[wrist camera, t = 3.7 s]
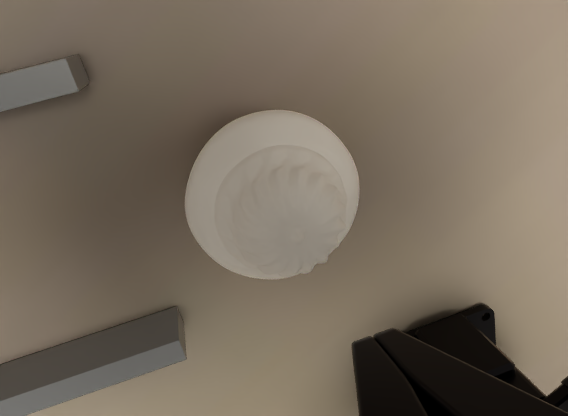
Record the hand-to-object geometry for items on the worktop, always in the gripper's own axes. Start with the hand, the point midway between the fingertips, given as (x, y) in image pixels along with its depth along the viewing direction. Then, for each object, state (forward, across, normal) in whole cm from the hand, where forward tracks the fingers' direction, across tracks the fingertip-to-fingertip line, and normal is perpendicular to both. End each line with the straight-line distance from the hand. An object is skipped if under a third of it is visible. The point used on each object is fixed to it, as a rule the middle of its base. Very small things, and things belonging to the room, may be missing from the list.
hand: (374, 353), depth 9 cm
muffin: (+12, 0, 0) cm, 12 cm away
